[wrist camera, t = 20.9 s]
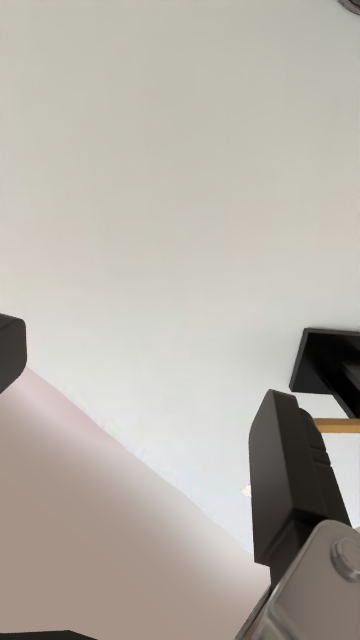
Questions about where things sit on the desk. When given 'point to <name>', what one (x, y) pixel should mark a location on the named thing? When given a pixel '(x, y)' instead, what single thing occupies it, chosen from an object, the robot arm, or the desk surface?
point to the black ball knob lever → (334, 424)
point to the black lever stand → (330, 367)
